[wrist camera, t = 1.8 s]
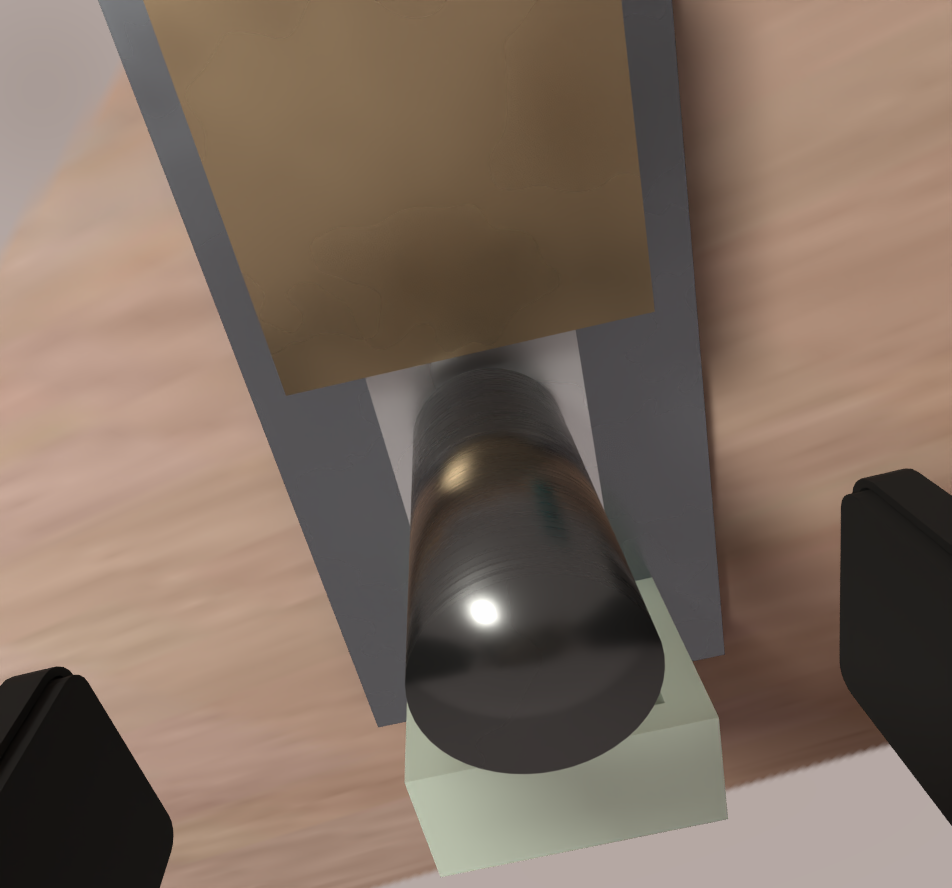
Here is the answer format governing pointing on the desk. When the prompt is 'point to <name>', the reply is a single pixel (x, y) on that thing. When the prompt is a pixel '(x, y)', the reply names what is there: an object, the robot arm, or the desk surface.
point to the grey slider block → (513, 563)
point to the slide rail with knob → (440, 252)
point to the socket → (579, 780)
